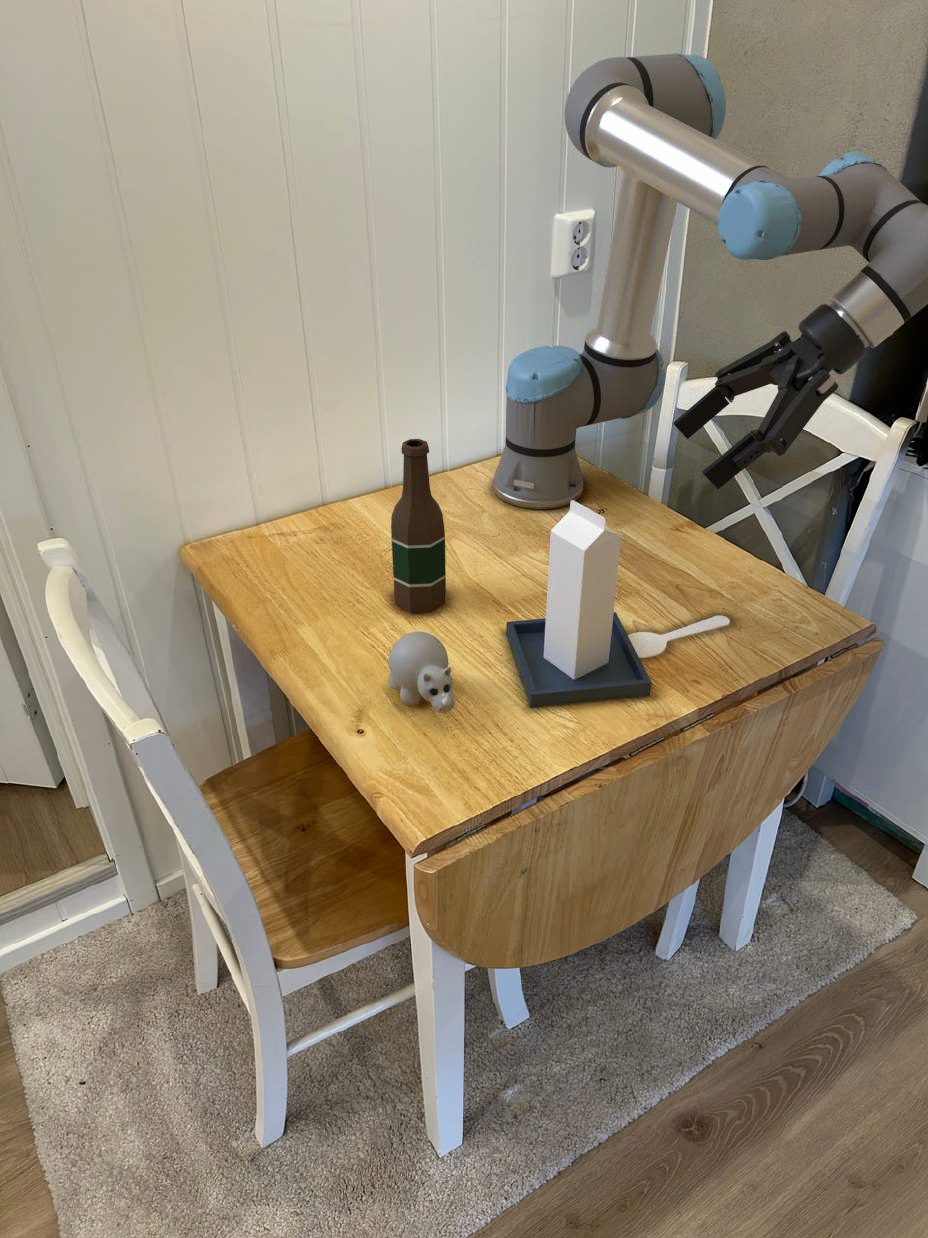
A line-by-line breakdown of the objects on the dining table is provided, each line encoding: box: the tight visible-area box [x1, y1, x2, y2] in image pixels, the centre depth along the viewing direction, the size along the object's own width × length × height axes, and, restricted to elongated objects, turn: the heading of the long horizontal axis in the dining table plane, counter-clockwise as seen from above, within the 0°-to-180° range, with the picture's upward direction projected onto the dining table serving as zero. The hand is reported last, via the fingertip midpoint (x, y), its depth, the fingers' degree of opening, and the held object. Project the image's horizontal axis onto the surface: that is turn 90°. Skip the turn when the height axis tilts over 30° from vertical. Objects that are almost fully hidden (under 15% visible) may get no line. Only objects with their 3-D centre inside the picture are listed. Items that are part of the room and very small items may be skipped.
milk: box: [544, 500, 623, 680], centre depth 117 cm, size 6×6×22 cm
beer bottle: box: [390, 438, 447, 614], centre depth 129 cm, size 8×8×24 cm
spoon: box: [627, 614, 731, 659], centre depth 129 cm, size 5×18×1 cm, turn 115°
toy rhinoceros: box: [388, 631, 456, 715], centre depth 114 cm, size 7×12×8 cm, turn 25°
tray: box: [505, 611, 653, 709], centre depth 123 cm, size 16×15×2 cm
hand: (694, 454), depth 113 cm, fingers open, 13 cm apart
